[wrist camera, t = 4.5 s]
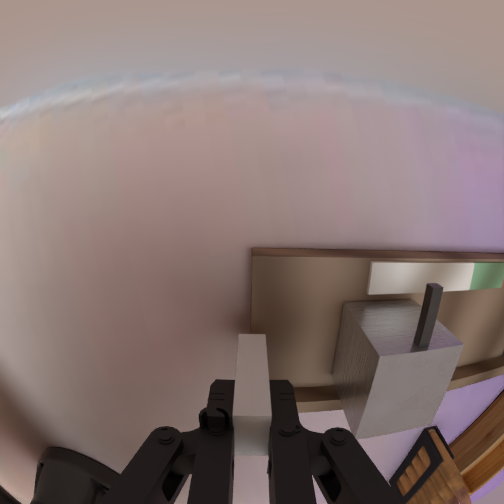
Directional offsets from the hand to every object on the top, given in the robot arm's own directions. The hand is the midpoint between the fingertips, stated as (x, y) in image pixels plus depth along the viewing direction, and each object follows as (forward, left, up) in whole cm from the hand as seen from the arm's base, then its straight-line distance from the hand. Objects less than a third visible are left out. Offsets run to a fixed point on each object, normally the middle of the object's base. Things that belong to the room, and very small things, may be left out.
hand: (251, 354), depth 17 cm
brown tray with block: (+13, 0, -4) cm, 14 cm away
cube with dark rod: (+8, +1, -1) cm, 8 cm away
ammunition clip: (+19, -19, -4) cm, 27 cm away
